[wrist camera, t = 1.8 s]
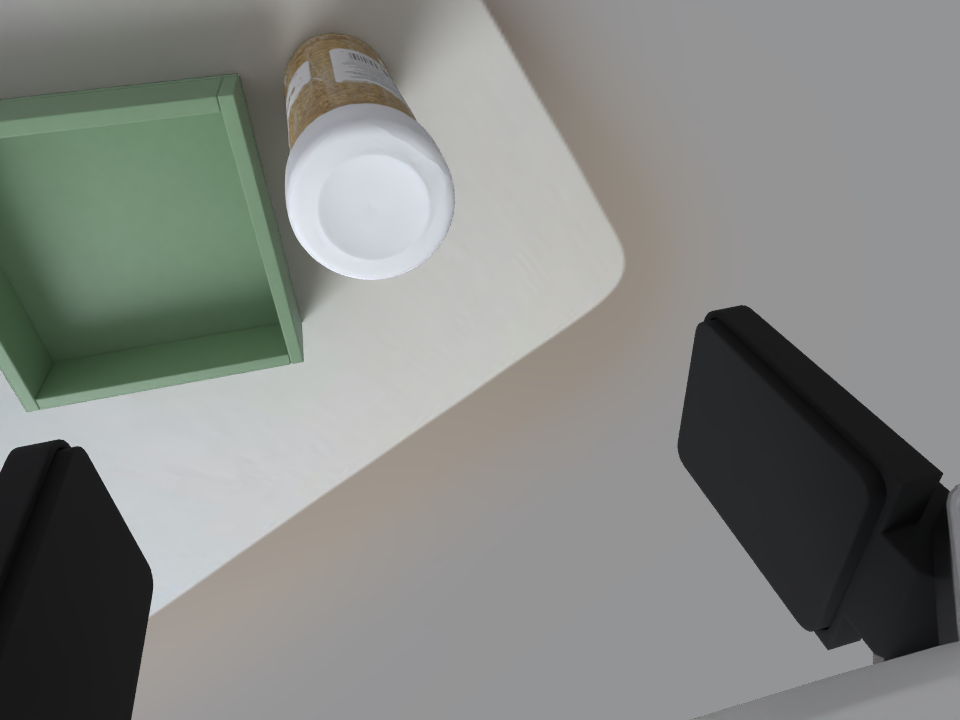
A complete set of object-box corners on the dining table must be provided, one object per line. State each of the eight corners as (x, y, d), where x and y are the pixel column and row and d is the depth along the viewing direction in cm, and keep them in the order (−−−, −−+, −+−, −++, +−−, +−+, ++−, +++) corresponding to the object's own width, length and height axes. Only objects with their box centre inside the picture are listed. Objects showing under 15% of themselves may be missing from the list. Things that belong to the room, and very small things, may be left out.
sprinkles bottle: (260, 74, 27) (246, 191, 17) (349, 6, 27) (394, 82, 16) (330, 164, 30) (357, 313, 19) (413, 104, 29) (488, 225, 19)
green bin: (238, 73, 27) (233, 93, 24) (302, 324, 34) (304, 362, 31) (-94, 109, 25) (-141, 136, 22) (47, 368, 32) (26, 412, 29)
